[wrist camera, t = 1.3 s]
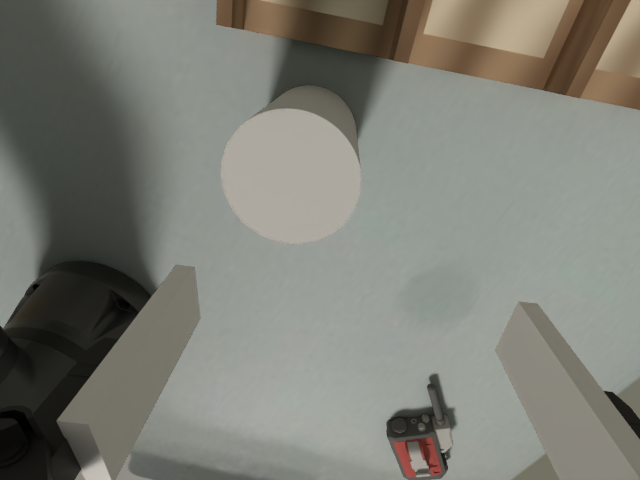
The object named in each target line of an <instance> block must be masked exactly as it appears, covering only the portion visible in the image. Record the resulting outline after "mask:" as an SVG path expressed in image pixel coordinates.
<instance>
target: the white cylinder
mask: <svg viewBox="0 0 640 480" xmlns="http://www.w3.org/2000/svg"><path fill="white" fill-rule="evenodd" d="M221 181H222V187H223V190H224V193H225V196H226V199H227V201H228V203H229V205H230V207H231V208H232V210H233V211H234V213H235V214H236V215H237V216H238V218H239V219H240V220H241V221H242V222H243V223H244V224H245V225H246V226H248V227H249V228H250V229H251V230H253V231H254V232H256V233H258V234H259V235H261V236H263V237H265V238H268V239H270V240H273V241H277V242H281V243H287V244H304V243H310V242H315V241H318V240H321V239H323V238H325V237H327V236H329V235H331V234H333V233H334V232H336V231H337V230H338V229H339V228H341V227H342V226H343V225H344V224H345V223H346V222H347V220H348V219H349V218H350V216H351V215H352V213H353V212H354V210H355V208H356V206H357V203H358V200H359V197H360V192H361V183H362V179H361V168H360V159H359V150H358V141H357V132H356V125H355V121H354V117H353V115H352V113H351V111H350V109H349V107H348V106H347V104H346V103H345V102H344V101H343V100H342V99H341V98H340V97H339V96H338V95H337V94H335V93H334V92H332V91H330V90H328V89H326V88H323V87H319V86H314V85H304V86H298V87H295V88H292V89H290V90H288V91H286V92H285V93H283V94H282V95H281V96H279V97H278V98H277V99H275V100H274V101H273V102H271V103H270V104H269V105H267V106H266V107H265V108H263V109H262V110H261V111H259V112H258V113H257V114H255V115H254V116H253V117H251V118H250V119H249V120H247V121H246V122H245V123H243V124H242V125H241V126H240V127H239V128H238V129H237V130H236V131H235V133H234V134H233V135H232V137H231V138H230V140H229V142H228V143H227V146H226V148H225V150H224V154H223V157H222V163H221Z"/></svg>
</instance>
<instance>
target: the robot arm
mask: <svg viewBox="0 0 640 480" xmlns="http://www.w3.org/2000/svg"><path fill="white" fill-rule="evenodd" d="M199 320H200V309H199V301H198V292H197V283H196V275H195V267H190V266H181V265H175V267H174V268H173V269H172V271H171V272H170V273H169V275H168V276H167V277H166V279H165V280H164V281H163V282H162V284H161V285H160V286H159V288H158V289H157V290H156V292H155V293H154V294H153V295H152V297H150V295H149V294H148V293H147V292H146V291H145V290H144V289H143V288H142V287H141V286H140V285H138V284H137V283H136V282H134V281H133V280H132V279H130V278H129V277H127V276H125V275H124V274H122V273H120V272H118V271H116V270H114V269H111V268H109V267H106V266H103V265H99V264H95V263H90V262H67V263H62V264H59V265H56V266H54V267H53V268H51V269H49V270H48V271H47V272H46V273H44V274H43V275H42V276H40V277H39V278H38V279H36V280H35V281H34V282H33V283H32V284H31V285H30V287H29V288H28V290H27V291H26V293H25V295H24V297H23V298H22V300H21V301H20V302H19V304H18V306H17V307H16V309H15V310H14V312H13V314H12V315H11V317H10V318H9V320H8V322H7V323H6V325H5V327H4V328H3V329H2V327H1V326H0V480H74V479H75V478H76V476H77V475H78V473H79V472H80V470H81V472H82V474H83V476H84V478H85V480H115V479H116V478H117V476H118V474H119V472H120V470H121V468H122V466H123V464H124V462H125V460H126V458H127V457H128V455H129V453H130V451H131V449H132V447H133V445H134V443H135V442H136V440H137V438H138V436H139V434H140V432H141V430H142V428H143V426H144V424H145V423H146V421H147V419H148V417H149V415H150V413H151V411H152V409H153V407H154V405H155V404H156V402H157V400H158V398H159V396H160V394H161V392H162V390H163V388H164V386H165V385H166V383H167V381H168V379H169V377H170V375H171V373H172V371H173V369H174V367H175V366H176V364H177V362H178V360H179V358H180V356H181V354H182V352H183V350H184V348H185V347H186V345H187V343H188V341H189V339H190V337H191V335H192V333H193V331H194V329H195V328H196V326H197V324H198V322H199ZM495 351H496V353H497V355H498V357H499V359H500V361H501V363H502V365H503V367H504V369H505V371H506V373H507V375H508V377H509V379H510V381H511V383H512V385H513V387H514V389H515V391H516V393H517V395H518V397H519V399H520V401H521V403H522V405H523V407H524V409H525V411H526V413H527V415H528V417H529V419H530V421H531V423H532V425H533V427H534V429H535V431H536V433H537V435H538V437H539V439H540V441H541V443H542V445H543V447H544V449H545V451H546V453H547V455H548V457H549V459H550V461H551V463H552V465H553V467H554V469H555V471H556V473H557V475H558V477H559V479H560V480H640V419H639V418H638V417H637V415H636V414H635V413H634V412H633V410H632V409H631V408H630V407H629V406H628V405H627V404H626V403H625V402H623V401H622V400H621V399H620V398H619V397H617V396H616V395H615V394H614V393H613V392H607V391H603V390H602V389H601V387H600V386H599V385H598V383H597V382H596V381H595V379H594V378H593V377H592V375H591V374H590V373H589V371H588V370H587V369H586V367H585V366H584V365H583V363H582V362H581V361H580V359H579V358H578V357H577V355H576V354H575V353H574V352H573V350H572V349H571V348H570V346H569V345H568V344H567V342H566V341H565V340H564V338H563V337H562V336H561V334H560V333H559V332H558V330H557V329H556V328H555V326H554V325H553V324H552V322H551V321H550V320H549V318H548V317H547V316H546V314H545V313H544V312H543V310H542V309H541V308H540V306H539V305H538V304H536V303H527V302H518V303H517V305H516V308H515V310H514V312H513V314H512V316H511V318H510V320H509V322H508V324H507V326H506V328H505V330H504V332H503V334H502V336H501V338H500V341H499V343H498V345H497V347H496V349H495Z"/></svg>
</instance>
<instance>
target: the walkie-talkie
mask: <svg viewBox="0 0 640 480" xmlns="http://www.w3.org/2000/svg"><path fill="white" fill-rule="evenodd" d="M427 389H428V392H429V396H430V399H431V403H432V406H433V410H434V413H435V416H434V417H431V416H429V415H428V416H427V415H426V414H424V415H422V416H421V417H413V418H406V419H403V418H396V419H394V420H391V421H388V422H387V429H386V430H387V437H388V440H389V442H390V445H391V447H392V449H393V452H394V454H395V456H396V459H397V462H398V464H399V466H400V469H401V471H402V474H403V477H405V478H406V479H408V480H431V479H440V478H442V477H443V476H444V475H445V473H446V471H447V470H448V466H447V462H446V458H445V455H444V453H445V452H446V451H447V450H448V449H449V448H450V447H451V446H452V445H453V440H452V436H451V432H450V431H451V428H450V424H449V420H448V417H447V415H443V414H442V410H441V406H440V402H439V399H438V395H437V391H436V387H435V386H434V385H433V384H428V386H427Z"/></svg>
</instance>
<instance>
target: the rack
mask: <svg viewBox="0 0 640 480" xmlns="http://www.w3.org/2000/svg"><path fill="white" fill-rule="evenodd" d="M216 25H221V26H226V27H231V28H237V29H243V30H248V31H253V32H258V33H263V34H268V35H273V36H278V37H283V38H288V39H293V40H298V41H303V42H308V43H313V44H318V45H323V46H327V47H332V48H337V49H342V50H347V51H352V52H357V53H362V54H367V55H372V56H377V57H382V58H387V59H391V60H394V61H399V62H404V63H411V64H416V65H421V66H426V67H431V68H436V69H441V70H446V71H451V72H456V73H461V74H466V75H471V76H476V77H481V78H486V79H490V80H495V81H500V82H505V83H510V84H515V85H520V86H525V87H530V88H535V89H540V90H545V91H549V92H553V93H558V94H562V95H567V96H572V97H577V98H584V99H589V100H594V101H599V102H604V103H609V104H614V105H619V106H624V107H629V108H634V109H639V110H640V0H217V20H216Z"/></svg>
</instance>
